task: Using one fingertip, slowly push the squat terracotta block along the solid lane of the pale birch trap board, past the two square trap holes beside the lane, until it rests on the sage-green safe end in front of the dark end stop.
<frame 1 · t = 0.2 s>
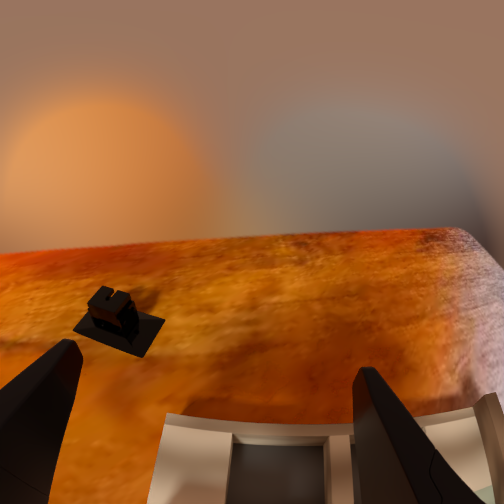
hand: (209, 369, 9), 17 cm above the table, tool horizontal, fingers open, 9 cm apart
black boxy piece: (119, 330, 32), on the table
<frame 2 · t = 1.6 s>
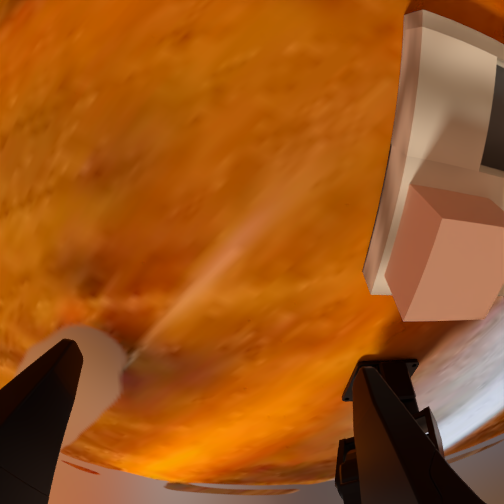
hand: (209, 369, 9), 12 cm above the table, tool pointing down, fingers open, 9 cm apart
terracotta block: (439, 237, 17), point 2 cm above the table, touching trap board
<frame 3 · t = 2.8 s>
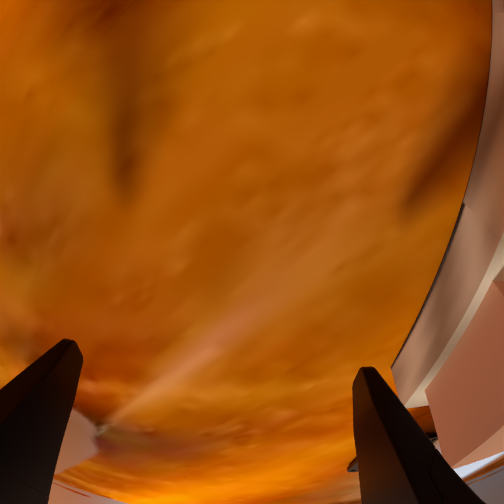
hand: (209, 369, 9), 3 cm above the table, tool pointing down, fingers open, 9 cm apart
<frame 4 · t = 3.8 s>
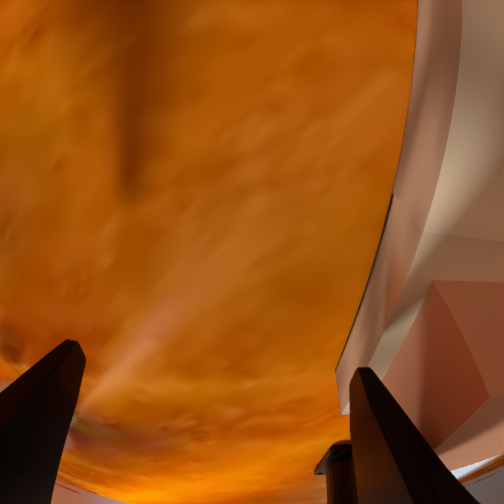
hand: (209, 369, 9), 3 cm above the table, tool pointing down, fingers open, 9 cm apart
terracotta block: (464, 345, 10), point 3 cm above the table, touching gripper
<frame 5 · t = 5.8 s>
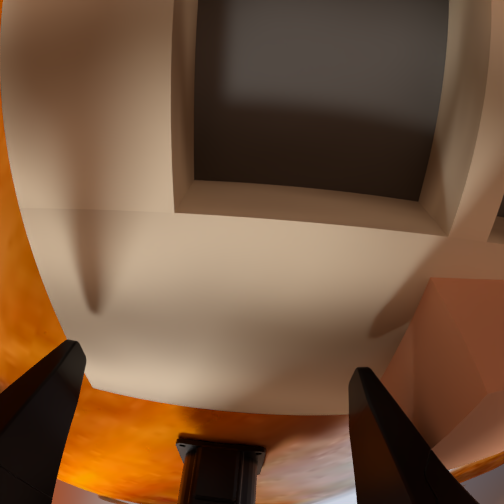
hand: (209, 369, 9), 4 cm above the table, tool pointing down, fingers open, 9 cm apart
trap board: (446, 216, 10), on the table
terracotta block: (464, 343, 10), point 2 cm above the table, touching gripper, trap board
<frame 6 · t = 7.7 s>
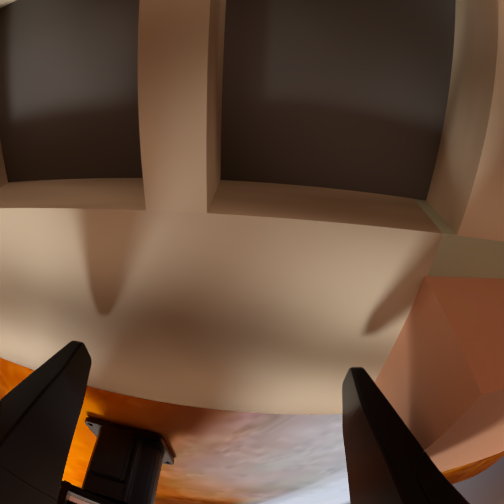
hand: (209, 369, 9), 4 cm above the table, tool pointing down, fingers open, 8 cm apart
trap board: (221, 191, 10), on the table
terracotta block: (460, 342, 10), point 2 cm above the table, touching gripper, trap board
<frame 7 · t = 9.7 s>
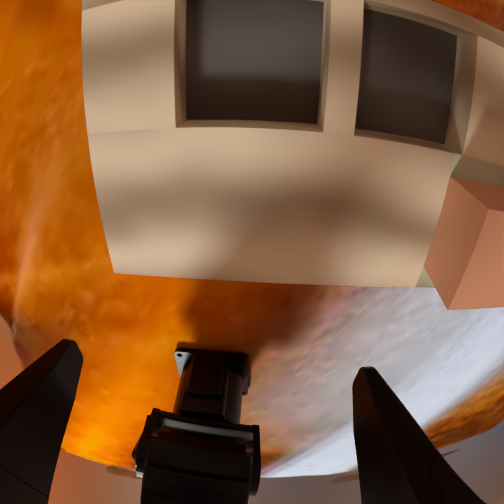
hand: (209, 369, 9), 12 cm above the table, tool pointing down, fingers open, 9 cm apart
trap board: (341, 134, 16), on the table
terracotta block: (474, 228, 16), point 2 cm above the table, touching trap board
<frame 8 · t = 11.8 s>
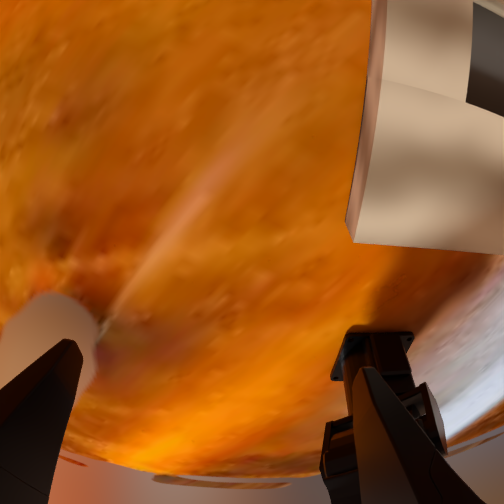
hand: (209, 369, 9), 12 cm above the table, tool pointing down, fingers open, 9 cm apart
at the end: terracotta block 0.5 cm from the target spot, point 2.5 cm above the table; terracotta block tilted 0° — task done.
